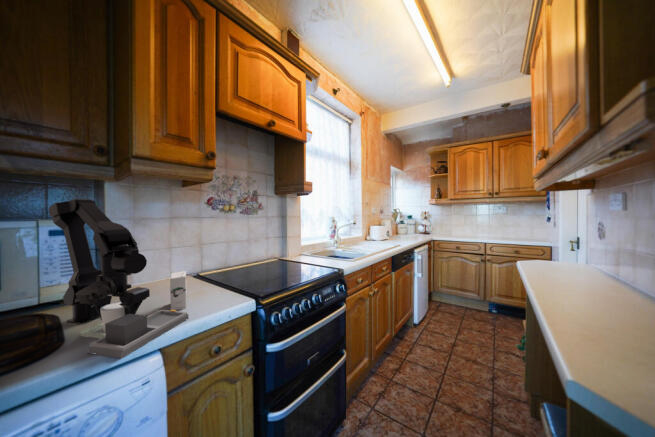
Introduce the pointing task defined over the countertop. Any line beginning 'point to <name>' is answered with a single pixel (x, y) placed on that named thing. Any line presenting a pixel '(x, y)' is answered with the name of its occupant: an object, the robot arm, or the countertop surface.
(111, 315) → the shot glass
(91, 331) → the tray rim
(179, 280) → the ink box
